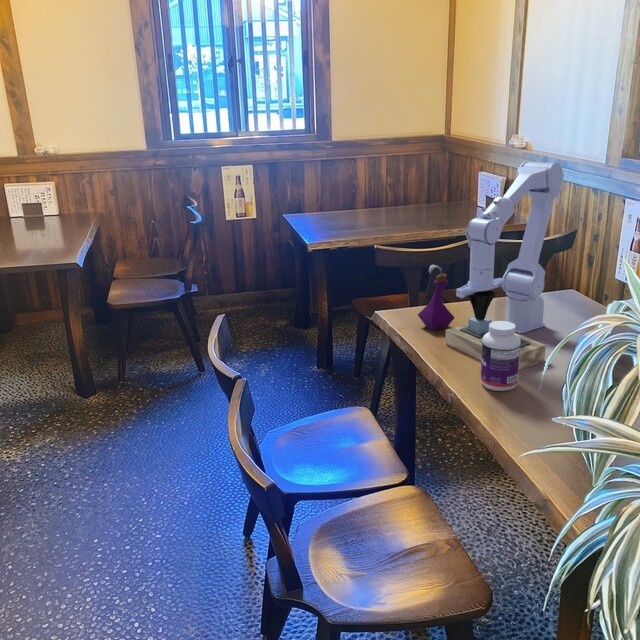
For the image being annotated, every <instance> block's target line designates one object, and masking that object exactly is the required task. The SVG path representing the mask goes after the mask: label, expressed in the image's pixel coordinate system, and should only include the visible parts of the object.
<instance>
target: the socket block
mask: <svg viewBox="0 0 640 640" xmlns="http://www.w3.org/2000/svg"><path fill="white" fill-rule="evenodd" d="M486 333H488V332H486ZM486 333H483V334H480V335H479V334H476V333H474V332H472V331H469V330H468V323H464V324H461V325H459V326H455V327H451V328H446V329H445V345H446V346H449V347H451V348H453V349H455V350H457V351H460V352H462V353H464V354H466V355H468V356H470V357H472V358H475V359H476V360H478V361H481V362H482V339H483V336H484V335H485V334H486ZM515 334H517V335H518V336H519V338H520V340H521V344H520V358H519V370H522V369H525V368H528V367H530V365H531V366H533V365H535V364H536V365H537V364H538V363H541V362H544V361H546V349H547V347H546V344H544V343H542V342H539V341H536V340H534V339H532V338H528V337H526V336H523V335H520V334H519V333H517V332H515ZM532 364H533V365H532ZM527 366H528V367H527ZM524 367H525V368H524Z"/></svg>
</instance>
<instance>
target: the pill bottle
mask: <svg viewBox="0 0 640 640" xmlns="http://www.w3.org/2000/svg"><path fill="white" fill-rule="evenodd" d="M515 328H516V326H515V324H513V323H511V322H507V320H496V321H495V320H494V321H491V323H490V324H489V332H488V333H486V334H485V335H484V336H483V339H482V361H481V365H480V366H481V367H480V368H481V369H480V382H481V384H482V385H483V386H484V388H486V389H488V390H490V391H494V392H496V391H497V392H507V391H508V392H509V391H511V390H513V389H515V388H516V387H517V386H518V384H519V370H520V369H519V358H520V344H521V340H520V338H519V336H518V335H519V334H518V333H516V332H515ZM515 333H516V334H515ZM517 334H518V335H517Z"/></svg>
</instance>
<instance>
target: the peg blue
mask: <svg viewBox="0 0 640 640" xmlns="http://www.w3.org/2000/svg"><path fill="white" fill-rule="evenodd" d="M491 322H492V319H490V318H488V317H485V319H484V320H478V319H476V318H475V316H473V317H471V318H468V323H467V324H468V330H469V331H472V332H474V333H476V334H479V335H480V334H483V333H486V332H489V324H490V323H491Z"/></svg>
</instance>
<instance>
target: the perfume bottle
mask: <svg viewBox="0 0 640 640" xmlns="http://www.w3.org/2000/svg"><path fill="white" fill-rule="evenodd" d="M436 268H437V269H438V270H439V271H440V274H439V273H438V274H437V275H436V277H435V278H436V279H435V280H434V281H433V284H434V285H435V291H434V294H433V296H432V298H431V300H430V301H429V303H428V304H427V305H426V306H425V307H424V308H423V309H421V311H419V312H418V314H417V316H418V318H419V319H420V321H421V322H422V323H423V324H424V325H425V327H427V328H429V330H432V331H438V330H439V331H440V330H443V329H447V328H448V326H449V325H450V324H451V323H452V322H453V321H454V320H455V316H454V315H453V313H451V311H450V310H448V308H447V307H446V305H445V304H444V303H443V299H442V295H443V290H444V288H445V287H446V285H448V284H450V283H449V281H448V280H447V278H448V275H447V274H446V273H443V272H442V269H443V268H442V267H440V266H439V265H435V264H431V265H429V268H428V273H429V274H431V273H432V271H433V270H434V269H436Z"/></svg>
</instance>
